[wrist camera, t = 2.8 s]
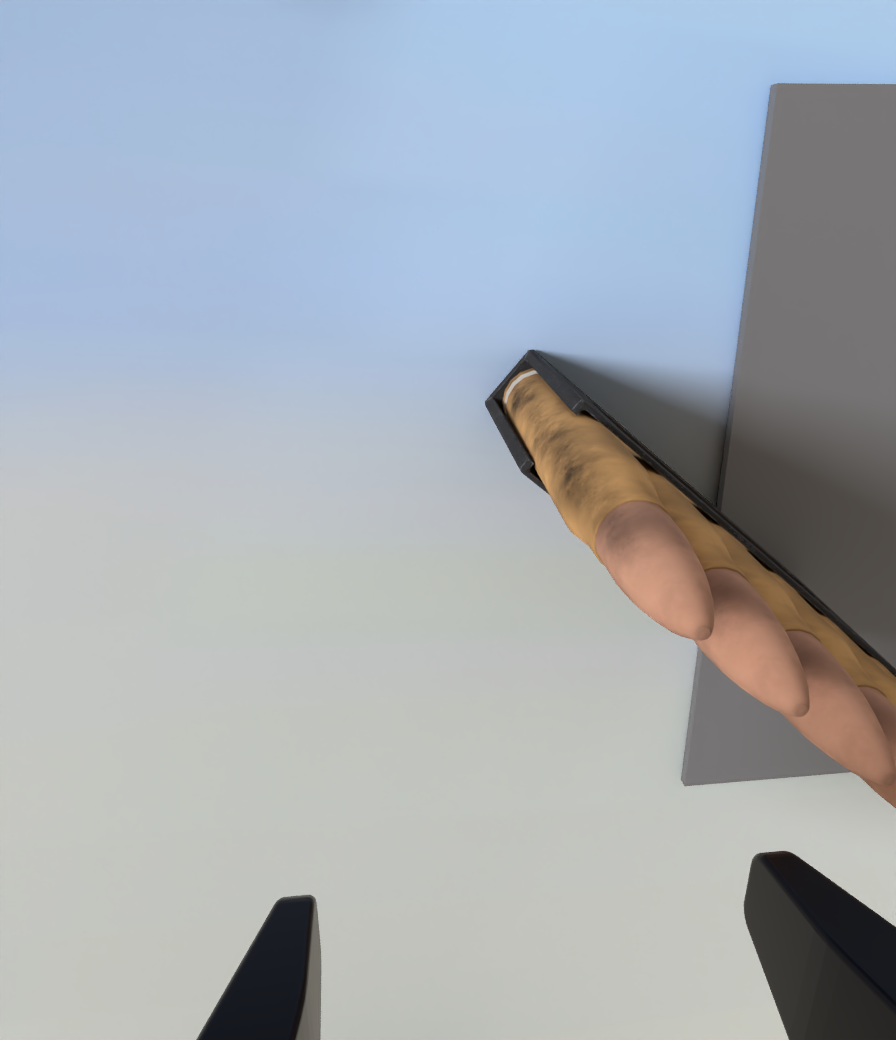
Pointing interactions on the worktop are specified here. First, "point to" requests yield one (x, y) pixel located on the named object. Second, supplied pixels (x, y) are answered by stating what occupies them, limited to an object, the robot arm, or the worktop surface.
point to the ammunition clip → (701, 572)
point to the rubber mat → (812, 402)
